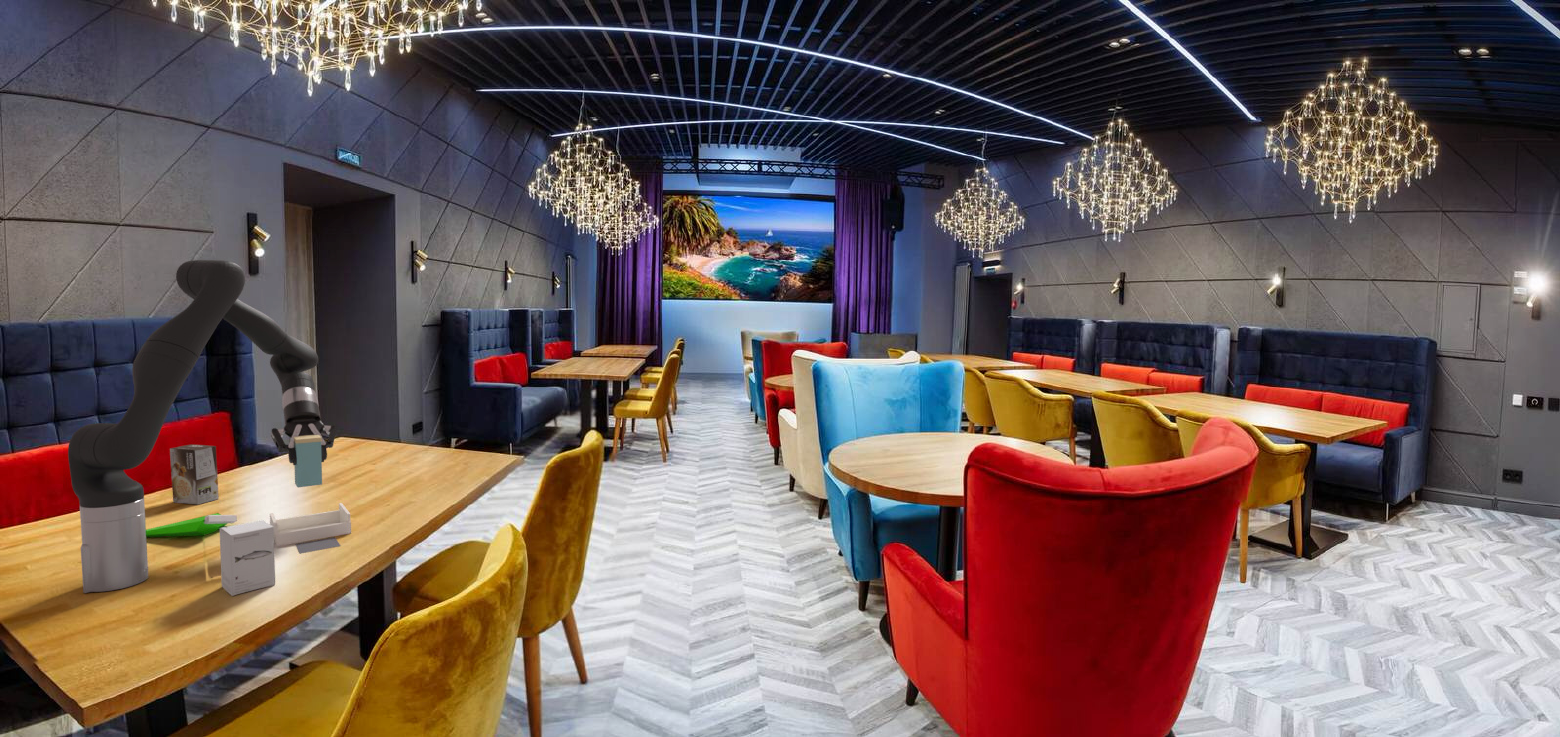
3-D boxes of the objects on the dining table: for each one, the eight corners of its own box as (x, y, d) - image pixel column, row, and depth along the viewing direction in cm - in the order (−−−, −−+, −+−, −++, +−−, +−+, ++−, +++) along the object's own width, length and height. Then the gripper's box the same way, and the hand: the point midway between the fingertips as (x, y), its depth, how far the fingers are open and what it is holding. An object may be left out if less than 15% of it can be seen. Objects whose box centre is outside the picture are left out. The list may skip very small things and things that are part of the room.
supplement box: (231, 597, 130) (228, 535, 129) (221, 587, 134) (218, 527, 133) (276, 585, 136) (274, 526, 134) (265, 576, 140) (263, 518, 139)
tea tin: (297, 487, 161) (295, 439, 160) (294, 483, 165) (293, 436, 164) (322, 484, 164) (321, 437, 163) (319, 480, 168) (318, 434, 167)
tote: (276, 548, 156) (275, 526, 155) (270, 534, 165) (269, 512, 165) (351, 535, 166) (350, 514, 165) (341, 522, 176) (341, 502, 175)
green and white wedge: (88, 554, 154) (208, 534, 159) (88, 531, 155) (207, 512, 160) (127, 551, 165) (238, 532, 169) (127, 530, 166) (237, 511, 170)
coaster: (299, 555, 151) (299, 553, 151) (295, 546, 157) (295, 543, 157) (340, 548, 157) (340, 545, 157) (334, 539, 163) (334, 536, 163)
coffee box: (220, 498, 193) (217, 445, 192) (197, 505, 187) (195, 449, 186) (194, 496, 195) (191, 443, 193) (171, 502, 189) (168, 448, 187)
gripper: (267, 401, 163) (273, 456, 156) (335, 397, 173) (345, 449, 165) (265, 419, 168) (272, 474, 160) (332, 414, 177) (341, 466, 170)
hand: (309, 461), depth 163 cm, fingers closed on tea tin, 5 cm apart
